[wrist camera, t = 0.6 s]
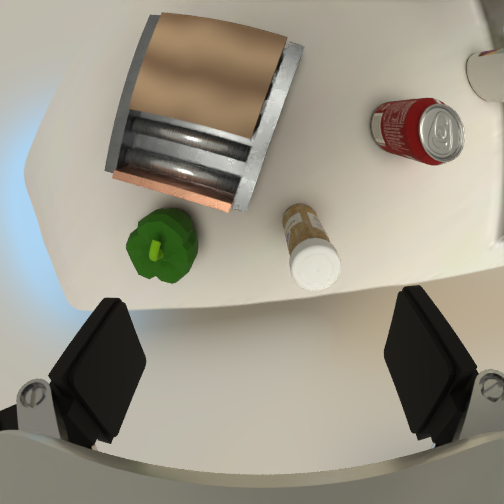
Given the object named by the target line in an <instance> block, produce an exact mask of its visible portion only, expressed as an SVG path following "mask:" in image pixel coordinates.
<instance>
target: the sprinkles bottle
mask: <svg viewBox="0 0 504 504" xmlns="http://www.w3.org/2000/svg"><path fill="white" fill-rule="evenodd" d="M283 227H284V229H285V235H286V241H287V246H288V250H289V254H290V261H289V264H290V271H291V275H292V278H293V280H294V281H295V283H296V284H297V285H298V286H300V287H301V288H303V289H306V290H309V291H319V290H323V289H326V288H328V287H329V286H331V285H332V284H333V283H334V282H335V281H336V280H337V279H338V277H339V275H340V272H341V259H340V257H339V254H338V252H337V250H336V249H335V247H334V246H333V245H332V244H331V243H330V241H329V238H328V236H327V234H326V232H325V230H324V228H323V227H322V225H321V223H320V221H319V219H318V218H317V215H316V213H315V211H314V210H313V209H312V208H311V207H309V206H307V205H303V204H297V205H294V206H292V207H290V208H289V209H288V210H287V211H286V212H285V214H284V217H283Z"/></svg>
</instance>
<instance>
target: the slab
mask: <svg viewBox="0 0 504 504" xmlns="http://www.w3.org/2000/svg"><path fill="white" fill-rule="evenodd" d="M286 40H287V37H285V36H282V35H278V34H275V33H272V32H268V31H264V30H261V29H257V28H253V27H249V26H245V25H240V24H236V23H231V22H226V21H221V20H216V19H210V18H204V17H197V16H190V15H182V14H173V13H162V14H161V16H160V18H159V21H158V23H157V25H156V28H155V30H154V33H153V35H152V38H151V40H150V43H149V46H148V48H147V51H146V54H145V57H144V60H143V63H142V65H141V68H140V71H139V75H138V78H137V81H136V84H135V87H134V91H133V94H132V98H131V101H130V105H129V108H128V109H132V110H137V111H142V112H147V113H152V114H157V115H161V116H166V117H170V118H174V119H179V120H183V121H187V122H191V123H195V124H199V125H202V126H206V127H210V128H214V129H217V130H221V131H224V132H228V133H231V134H235V135H238V136H241V137H244V138H248V139H251V138H252V136H253V133H254V130H255V127H256V124H257V121H258V118H259V115H260V112H261V109H262V107H263V104H264V101H265V98H266V95H267V93H268V90H269V87H270V84H271V81H272V79H273V76H274V73H275V70H276V68H277V65H278V62H279V60H280V57H281V54H282V52H283V49H284V46H285V44H286Z"/></svg>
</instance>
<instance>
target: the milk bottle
mask: <svg viewBox="0 0 504 504" xmlns="http://www.w3.org/2000/svg"><path fill="white" fill-rule="evenodd" d="M467 75H468V79H469V82H470V84H471V86H472V88H473V89H474V91H475V92H476V93H477V95H479V96H480V97H481V98H483V99H484V100H486V101H492V102H504V48H503V49H497V50H491V51H485V52H480V53H476V54H473V55H471V56H470V58H469V59H468V61H467Z"/></svg>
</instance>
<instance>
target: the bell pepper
mask: <svg viewBox="0 0 504 504" xmlns="http://www.w3.org/2000/svg"><path fill="white" fill-rule="evenodd" d="M192 225H193V222H192V221H191V219H190V218H189V216H188V215H187V214H186V213H184V212H182V211H181V210H179V209H174V208H166V209H159V210H155V211H153V212H152V213H150V214H149V215H147V216H146V217H144V218H143V219H142V220H140V221H139V222H138V228H137V229H136V230H134V231H133V232H132V233H131V234H130V236H129V239H128V241H127V244H126V249H127V252H128V254H129V256H130V259H131V261H132V263H133V265H134V267H135V269H136V270H137V272H138V274H139V275H141V276H143V277H145V278H148V279H151V278H153V277H154V276H157V277H158V278H159V279H160V280H161V281H164V282H168V283H172V284H173V283H176V282H177V281H179V280H180V279H181V278H182V277H183V276H185V275H186V274H187V273H188V272H189V270H190V268H191V266H192V264H193V262H194V260H195V258H196V255H197V253H198V241H197V235H196V231H195V230H194V229H193V228H192Z"/></svg>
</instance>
